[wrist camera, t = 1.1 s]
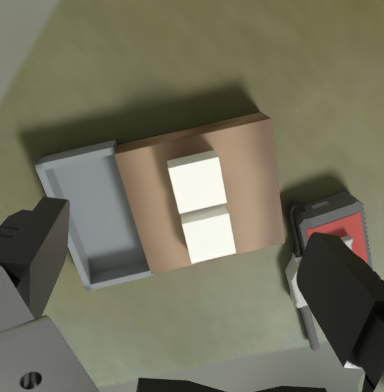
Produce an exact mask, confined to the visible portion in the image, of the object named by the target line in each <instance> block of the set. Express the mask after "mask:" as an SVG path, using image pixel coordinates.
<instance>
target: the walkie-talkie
mask: <svg viewBox="0 0 384 392" xmlns="http://www.w3.org/2000/svg"><path fill="white" fill-rule="evenodd" d="M296 207H297V208H296ZM294 208H295V209H294ZM293 210H294V211H293ZM363 210H364V208H363V203H361V202H360V201H359V200H357V199H356V198H355V197H353V196H352V195H351V194H349V193H347V192H345V191H343V192H340V193H337V194H334V195H332V196H329V197H326V198H323V199H320V200H317V201H314V202H311V203H309V204H306V205H303V204H302V203H301V202H292V203H291V204H290V205H289V207H288V215H289V220H290V224H291V228H292V232H293V236H294V240H295V249H294V253H292V258H291V260H290V262H289V264H288V266H287V268H286V271H285V272H286V276H287V280H288V283H289V287H290V296H291V299H292V301H293V302H294V304H295V306H296V308H299V309H300V311H301V313H302V316H303V320H304V324H305V328H306V332H307V335H308V339H309V343H310V347H311V348H312V350H315V351H316V350H318V349H319V343H318V339H317V335H316V331H315V327H314V323H313V319H312V315H311V311H310V308H309V306H308V305H307V303H306V301H305V299H304V298H303V296H302V294H301V292H300V291H299V289H298V286H297V281H296V275H297V270H298V267H299V264H300V261H301V259H302V256H303V253H304V250H305V248H306V245H307V242H308V239H309V237H310V235H311V234H312V233H314V232H319V233H327V234H335V235H337V236H339V237H340V238H341V240H342V241H343V242H344V243H345V244H346V245H347V246H348V247H349V248H350V249H351V250H352V251H353V252H354V253H355V254H356V255H357V256H359V257H360V258H362V259H363V260H364V261H365V262H366V263H367V264H368V265H369V266H370V267H371V268H372V262H371V255H370V252H369V250H370V249H369V244H368V239H367V237H368V235H367V231H366V228H367V227H366V225H365V224H366V222H365V217H364V214H365V213H364V211H363Z"/></svg>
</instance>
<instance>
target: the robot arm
mask: <svg viewBox="0 0 384 392" xmlns="http://www.w3.org/2000/svg"><path fill="white" fill-rule="evenodd" d="M69 216H70V201H69V200H68V199H60V198H52V197H43V198H42V199H41V200H40V202H39V203H38V204H37V206H36V207H35V208H34V210H33V211H29V210H21V211H19V212H17V213H15V214H13V215H11V216H9V217H7V219H6V220H5V221H4V222H3V223H2V224H1V226H0V392H100V391H99V390H98V388H97V387H96V385H95V384H94V382H93V381H92V379H91V378H90V376H89V375H88V373H87V372H86V370H85V369H84V367H83V366H82V364H81V363H80V361H79V360H78V358H77V357H76V355H75V354H74V352H73V351H72V349H71V348H70V346H69V345H68V343H67V342H66V340H65V339H64V337H63V336H62V334H61V333H60V331H59V330H58V328H57V327H56V325H55V324H54V322H53V321H52V319H51V318H50V317H48V316H46V315H45V316H42V314H43V311H44V309H45V307H46V304H47V302H48V300H49V297H50V295H51V293H52V290H53V288H54V286H55V283H56V281H57V278H58V276H59V274H60V271H61V269H62V267H63V264H64V261H65V258H66V253H67V247H68V232H69ZM380 278H381V277H380V276H379V275H378V274H377V273H376V272H375V271H373V269H372V268H371V267H370V266H369V265H368V264H367V263H366V262H365V261H364V260H363V259H362V258H360V257H359V256H357V255H356V254H355V253H354V252H353V251H352V250H351V249H350V248H349V247H348V246H347V245H346V244H345V243H344V242H343V241H342V240H341V238H340V237H339V236H337V235H335V234H327V233H319V232H314V233H312V234H311V235H310V237H309V239H308V242H307V245H306V248H305V250H304V253H303V256H302V259H301V261H300V264H299V267H298V270H297V275H296V281H297V286H298V289H299V291H300V292H301V294H302V296H303V298H304V299H305V301H306V303H307V305H308V306H309V308H310V310H311V312H312V313H313V315H314V317H315V319H316V320H317V322H318V324H319V325H320V327H321V329H322V331H323V332H324V334H325V336H326V338H327V339H328V341H329V343H330V345H331V346H332V348H333V350H334V351H335V353H336V355H337V357H338V358H339V360H340V362H341V364H342V366H343V367H344V368H358V369H363V370H364V373H363V375H362V377H361V379H360V382H359V387H358V392H384V281H383V280H381V279H380ZM41 316H42V317H41ZM136 392H225V391H221V390H218V389H215V388H211V387H208V386H204V385H201V384H197V383H194V382H191V381H185V380H167V379H149V378H139V379H138V385H137V390H136ZM257 392H327V391H326V389H325V388H311V387H292V386H280V387H275V388H270V389H266V390H261V391H257Z"/></svg>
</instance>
